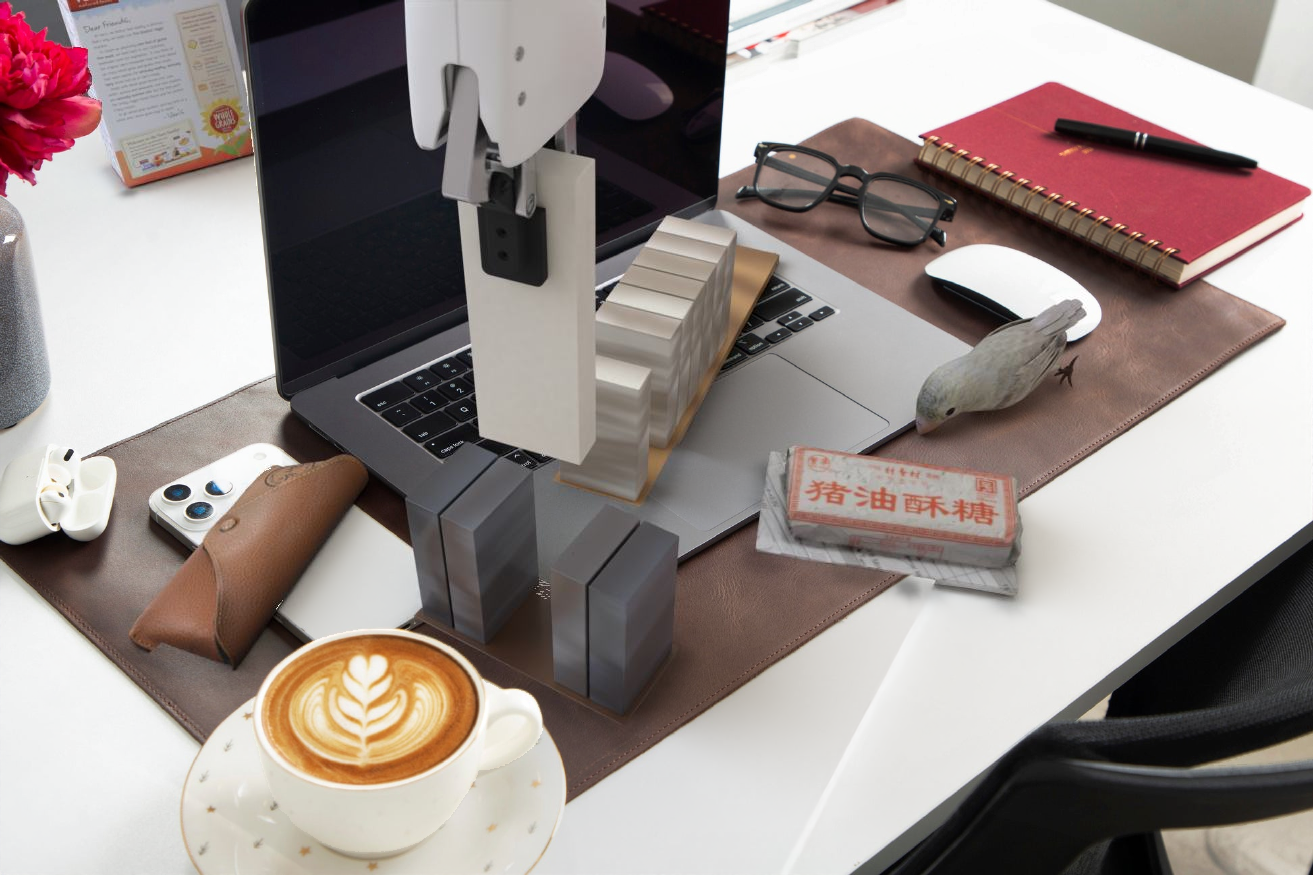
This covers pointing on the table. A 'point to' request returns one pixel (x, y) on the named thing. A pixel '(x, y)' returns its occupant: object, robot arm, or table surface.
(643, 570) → the grey book rack
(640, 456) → the cream book rack
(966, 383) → the decorative bird
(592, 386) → the cream book
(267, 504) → the sunglasses case
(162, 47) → the cracker box
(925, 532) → the packaged product
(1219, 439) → the table surface
